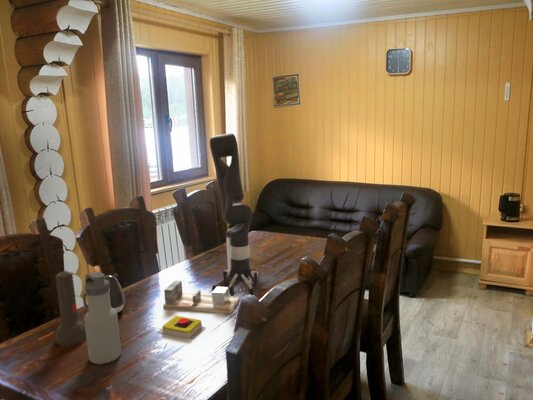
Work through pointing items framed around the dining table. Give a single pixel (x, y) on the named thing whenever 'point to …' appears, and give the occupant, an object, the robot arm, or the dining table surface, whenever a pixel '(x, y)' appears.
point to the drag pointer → (196, 297)
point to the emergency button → (182, 327)
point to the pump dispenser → (115, 293)
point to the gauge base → (183, 301)
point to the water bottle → (100, 320)
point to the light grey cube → (220, 295)
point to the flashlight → (68, 312)
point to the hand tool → (222, 283)
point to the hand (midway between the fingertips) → (241, 295)
